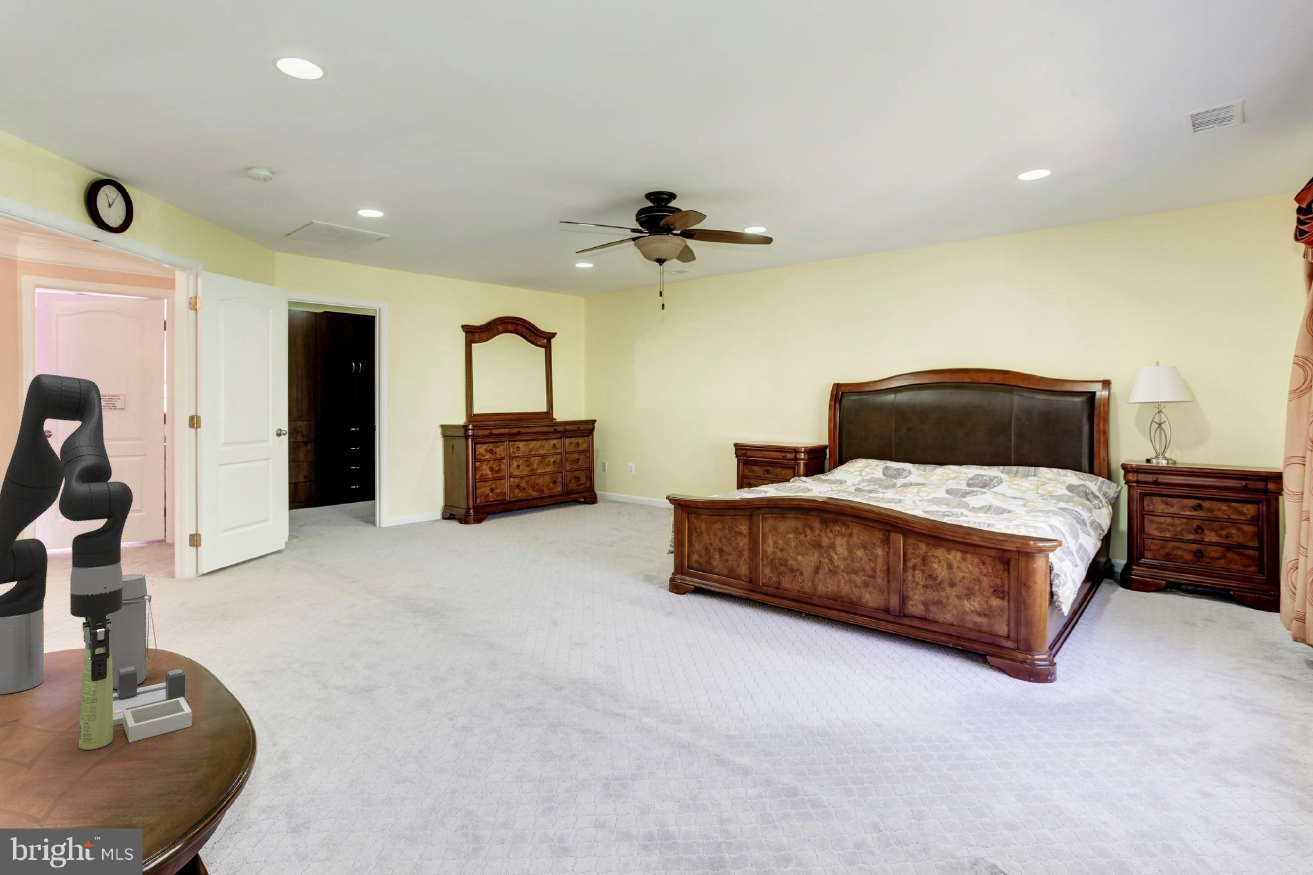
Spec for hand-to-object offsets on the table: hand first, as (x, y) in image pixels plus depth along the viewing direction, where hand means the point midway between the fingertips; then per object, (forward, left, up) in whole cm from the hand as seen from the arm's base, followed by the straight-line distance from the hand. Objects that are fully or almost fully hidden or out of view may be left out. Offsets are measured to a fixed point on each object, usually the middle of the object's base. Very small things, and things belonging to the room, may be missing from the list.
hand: (97, 673), depth 125 cm
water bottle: (-30, +8, -14) cm, 34 cm away
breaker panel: (-15, +9, -14) cm, 22 cm away
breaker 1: (-19, +6, -12) cm, 23 cm away
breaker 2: (-11, +14, -12) cm, 21 cm away
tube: (0, 0, -14) cm, 14 cm away
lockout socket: (-2, +9, -14) cm, 17 cm away
